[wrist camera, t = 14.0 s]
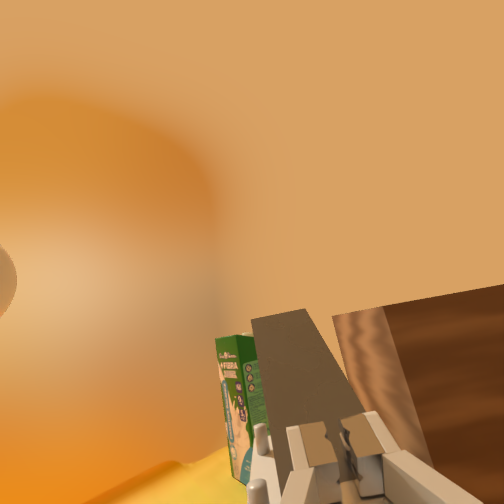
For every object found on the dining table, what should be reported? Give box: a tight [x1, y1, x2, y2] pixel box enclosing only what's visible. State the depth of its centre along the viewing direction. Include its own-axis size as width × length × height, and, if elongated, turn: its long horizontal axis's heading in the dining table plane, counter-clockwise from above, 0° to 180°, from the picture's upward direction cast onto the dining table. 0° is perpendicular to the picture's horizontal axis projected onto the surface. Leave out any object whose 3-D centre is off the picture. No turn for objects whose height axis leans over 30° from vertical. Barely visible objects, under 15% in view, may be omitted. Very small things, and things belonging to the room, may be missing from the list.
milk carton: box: [215, 333, 270, 486], centre depth 51 cm, size 9×9×25 cm
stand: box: [332, 284, 504, 504], centre depth 22 cm, size 15×10×25 cm, turn 177°
